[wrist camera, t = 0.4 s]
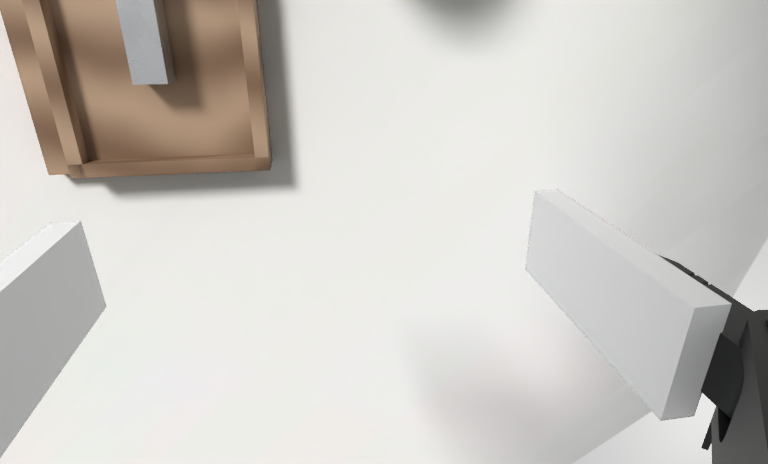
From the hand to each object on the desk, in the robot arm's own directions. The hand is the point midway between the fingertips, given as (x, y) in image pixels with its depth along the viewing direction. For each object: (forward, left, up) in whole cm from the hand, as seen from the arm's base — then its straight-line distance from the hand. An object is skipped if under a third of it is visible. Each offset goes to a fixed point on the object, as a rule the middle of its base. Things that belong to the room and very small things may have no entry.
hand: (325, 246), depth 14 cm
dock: (-5, -12, -26) cm, 28 cm away
